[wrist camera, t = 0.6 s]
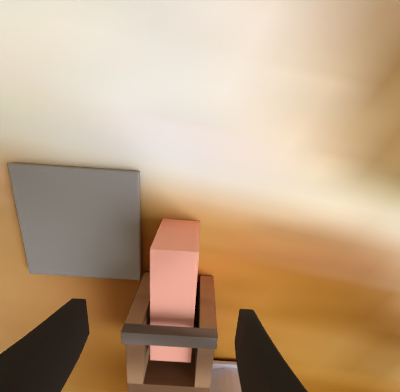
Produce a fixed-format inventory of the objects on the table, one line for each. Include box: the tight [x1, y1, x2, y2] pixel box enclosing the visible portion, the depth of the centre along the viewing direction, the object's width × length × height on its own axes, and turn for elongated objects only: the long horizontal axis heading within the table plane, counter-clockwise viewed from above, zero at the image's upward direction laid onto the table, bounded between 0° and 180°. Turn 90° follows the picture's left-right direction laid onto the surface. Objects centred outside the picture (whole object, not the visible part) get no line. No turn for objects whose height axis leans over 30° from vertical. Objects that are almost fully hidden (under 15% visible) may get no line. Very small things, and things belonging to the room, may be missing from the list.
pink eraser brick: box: [150, 219, 200, 363], centre depth 18 cm, size 10×3×5 cm, turn 176°
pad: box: [8, 163, 142, 280], centre depth 19 cm, size 10×10×1 cm
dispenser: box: [121, 272, 218, 392], centre depth 19 cm, size 7×6×6 cm
